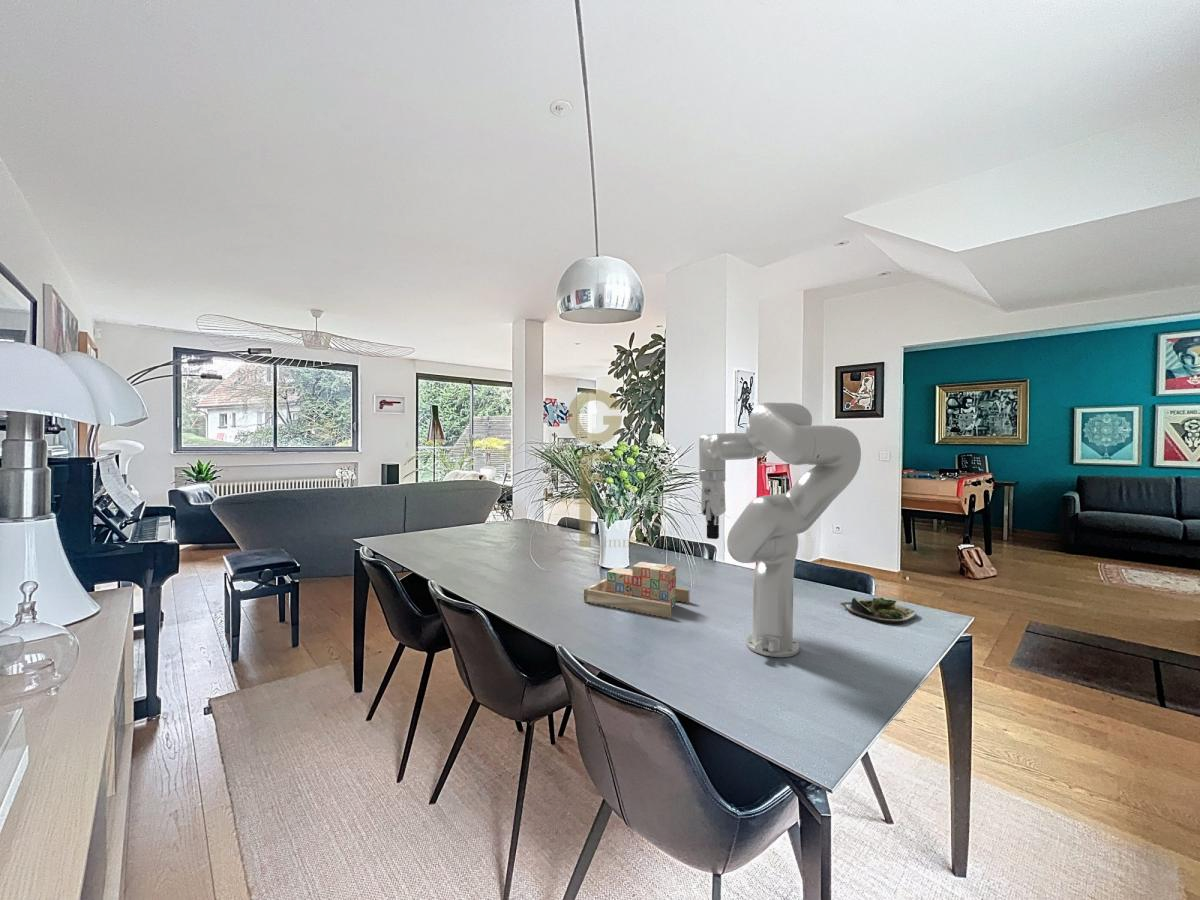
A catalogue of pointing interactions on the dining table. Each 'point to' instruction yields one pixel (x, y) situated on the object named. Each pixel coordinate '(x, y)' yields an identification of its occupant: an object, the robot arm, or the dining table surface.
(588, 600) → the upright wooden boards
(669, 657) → the dining table surface
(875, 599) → the salad plate
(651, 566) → the stack of blocks
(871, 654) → the dining table surface
